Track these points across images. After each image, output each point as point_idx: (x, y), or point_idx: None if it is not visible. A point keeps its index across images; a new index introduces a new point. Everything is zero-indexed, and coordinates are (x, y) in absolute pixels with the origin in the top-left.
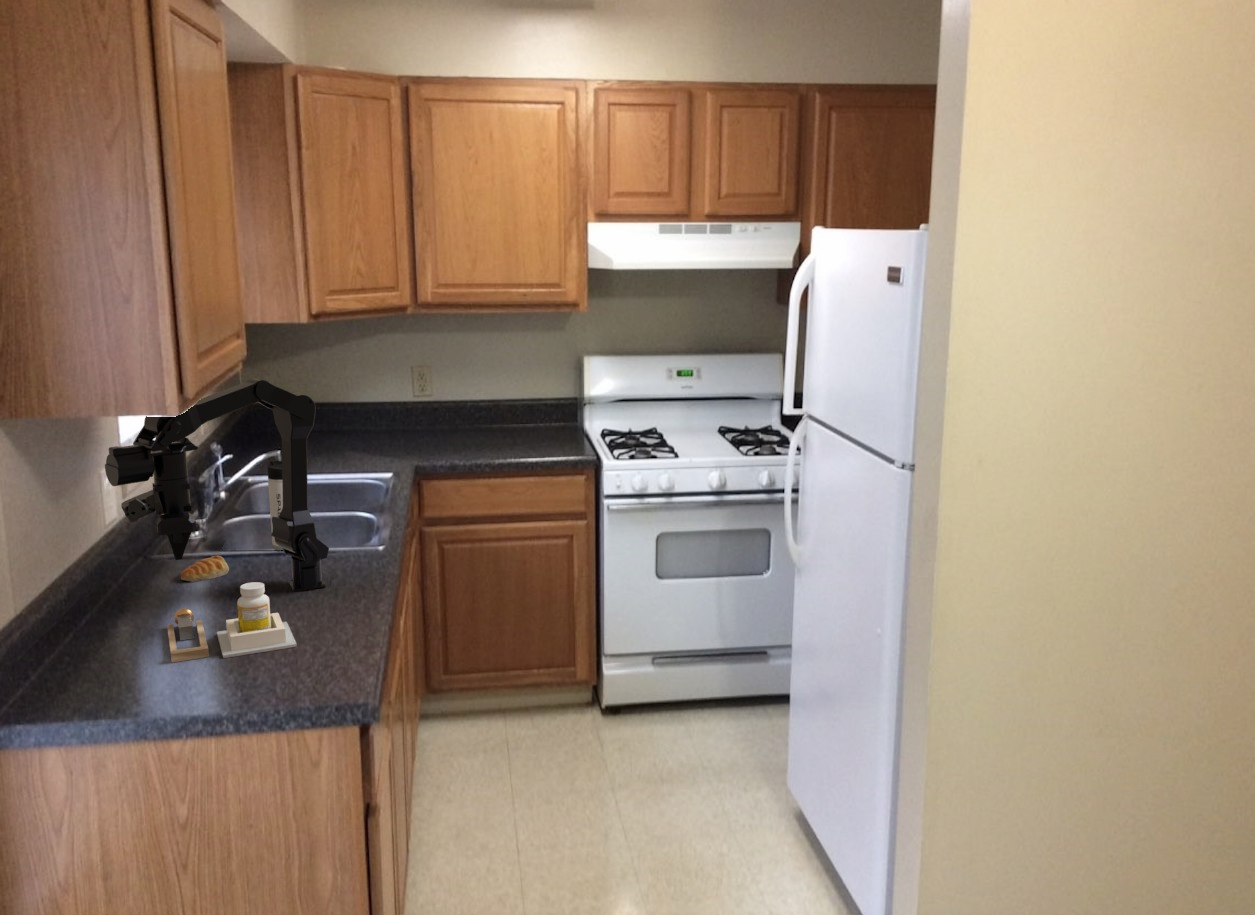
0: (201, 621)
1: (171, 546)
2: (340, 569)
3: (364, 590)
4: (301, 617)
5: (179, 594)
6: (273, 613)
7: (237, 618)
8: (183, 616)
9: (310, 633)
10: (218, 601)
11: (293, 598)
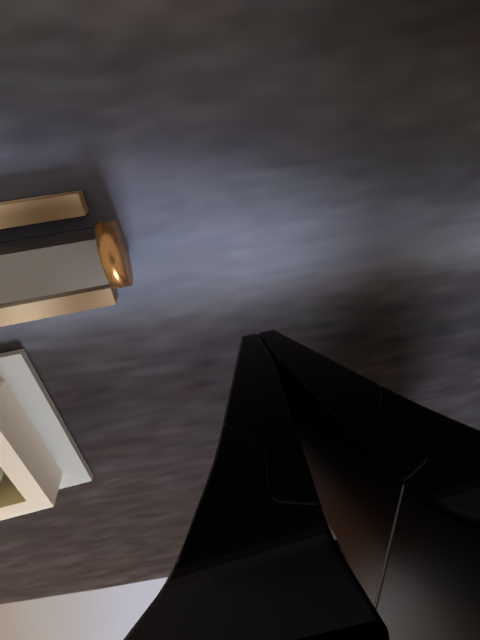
0: (101, 305)
1: (226, 411)
2: None
3: None
4: (136, 488)
5: (443, 189)
6: (45, 500)
7: (3, 435)
8: (75, 264)
9: (21, 520)
10: (322, 310)
11: None
